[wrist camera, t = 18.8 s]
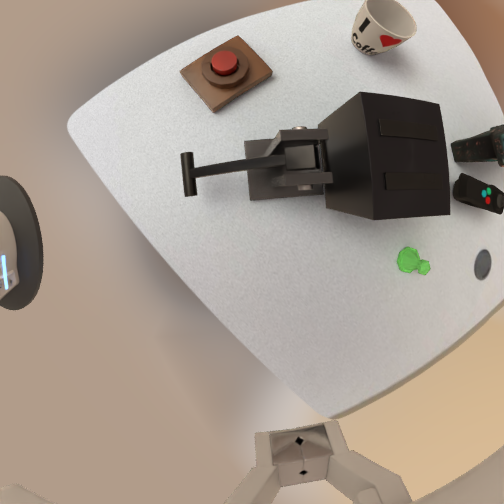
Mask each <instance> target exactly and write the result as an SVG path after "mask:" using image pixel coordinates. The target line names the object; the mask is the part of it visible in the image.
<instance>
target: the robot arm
mask: <svg viewBox="0 0 504 504" xmlns="http://www.w3.org/2000/svg"><path fill="white" fill-rule="evenodd" d="M18 283H19V275H18V270H17V248H16V241H15V236H14V232H13V229H12V227H11V224H10V222H9V220H8V219H7V217H6V216H5V215H4V214H3V213H2V212H1V211H0V300H1V299H2V298H3V297H4V296H5V295H6V294H7V293H9V292H10V291H11V290H12V289H13V288H14V287H15V286H16V285H18ZM269 434H270V435H269ZM255 450H256V467H255V468H252V469H251V470H250V472H249V473H248V474H247V476H246V477H245V478H244V479H243V481H242V482H241V483H240V484H239V486H238V487H237V488H236V489H235V491H234V492H233V493H232V494H231V496H230V497H229V498H228V499H227V500H226V502H225V503H224V504H271V503H272V502H273V500H274V498H275V497H276V495H277V493H278V491H279V490H280V487H283V486H290V485H295V484H301V483H307V482H313V481H318V480H324V479H326V481H328V482H329V483H330V484H331V485H333V486H334V487H335V488H336V489H337V490H339V491H340V492H341V493H343V494H344V495H345V496H346V497H348V498H349V499H350V500H352V501H353V504H504V445H503V446H502V447H501V448H500V449H498V450H497V451H496V452H495V453H493V454H492V455H491V456H489V457H488V458H487V459H485V460H484V461H482V462H481V463H480V464H478V465H477V466H475V467H474V468H472V469H471V470H469V471H468V472H466V473H465V474H463V475H461V476H460V477H458V478H457V479H455V480H453V481H452V482H450V483H448V484H446V485H445V486H443V487H441V488H439V489H437V490H435V491H434V492H432V493H430V494H428V495H426V496H424V497H422V498H420V499H417V500H415V501H413V502H412V500H411V497H410V495H409V493H408V491H407V489H406V487H405V485H404V483H403V481H402V479H401V477H400V476H399V475H397V474H395V473H393V472H391V471H389V470H387V469H386V468H384V467H382V466H380V465H378V464H376V463H375V462H373V461H371V460H369V459H367V458H366V457H364V456H362V455H360V454H359V453H357V452H355V451H354V450H351V451H349V449H348V447H347V444H346V441H345V439H344V436H343V434H342V431H341V429H340V426H339V423H338V421H337V420H333V421H329V422H325V423H318V424H313V425H308V426H303V427H298V428H295V429H287V430H278V431H270V432H259V433H255ZM0 504H57V503H54V502H52V501H50V500H48V499H46V498H44V497H42V496H40V495H38V494H36V493H34V492H32V491H30V490H29V489H27V488H25V487H23V486H21V485H19V484H12V485H8V486H5V487H3V488H0Z"/></svg>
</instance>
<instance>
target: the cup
mask: <svg viewBox="0 0 504 504" xmlns="http://www.w3.org/2000/svg"><path fill="white" fill-rule="evenodd" d="M416 30H417V28H416V23H415V21H414V19H413V17H412V16H411V14H410V13H409V12H408V11H407V10H406V9H405V8H404V7H403V6H402V5H401V4H400V3H398V2H397V1H395V0H365V2H364V4H363V5H362V7H361V9H360V10H359V12H358V14H357V16H356V19H355V22H354V25H353V28H352V36H351V40H352V43H353V45H354V46H355V47H356V48H357V49H358V50H359V51H361V52H362V53H364V54H367V55H374V54H379V53H383V52H386V51H388V50H390V49H392V48H394V47H397V46H398V45H400V44H402V43H403V42H405V41H406V40H408V39H409V38H411V37H412V36H414V35H415V33H416Z"/></svg>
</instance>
